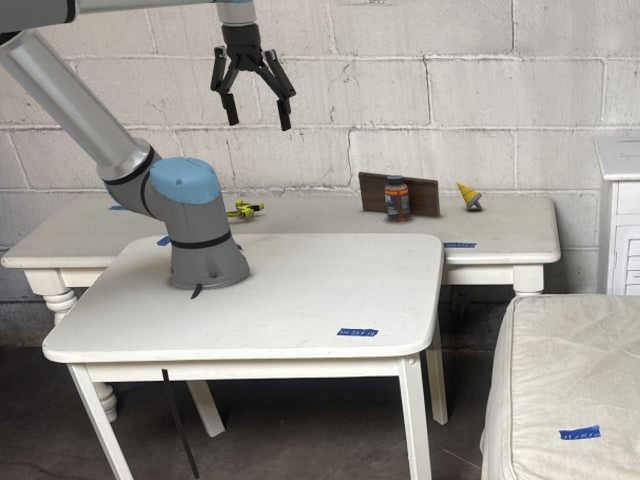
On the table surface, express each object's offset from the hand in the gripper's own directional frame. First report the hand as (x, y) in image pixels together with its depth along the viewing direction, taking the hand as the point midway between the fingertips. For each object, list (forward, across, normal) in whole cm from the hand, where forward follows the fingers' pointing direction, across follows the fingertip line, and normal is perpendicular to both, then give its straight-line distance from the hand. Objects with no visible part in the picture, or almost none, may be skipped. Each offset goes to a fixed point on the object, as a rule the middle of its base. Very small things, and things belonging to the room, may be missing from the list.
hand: (260, 127), depth 166 cm
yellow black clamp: (+26, +16, -8) cm, 32 cm away
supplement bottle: (+27, -23, -18) cm, 40 cm away
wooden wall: (+27, -21, -24) cm, 42 cm away
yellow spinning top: (+27, -38, -32) cm, 56 cm away
